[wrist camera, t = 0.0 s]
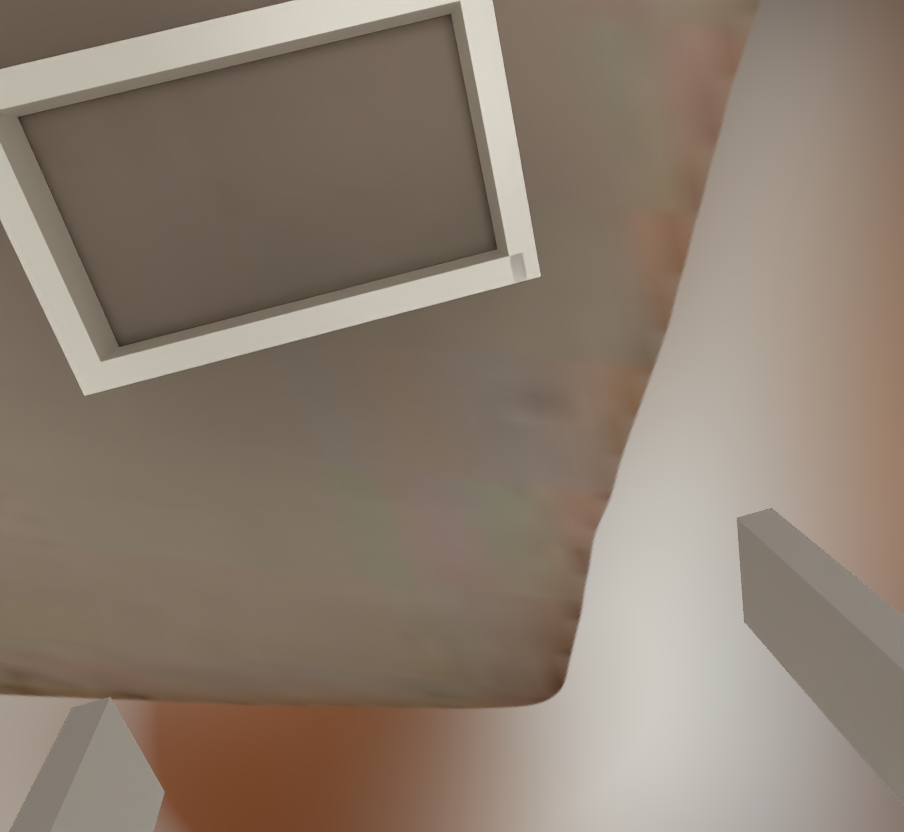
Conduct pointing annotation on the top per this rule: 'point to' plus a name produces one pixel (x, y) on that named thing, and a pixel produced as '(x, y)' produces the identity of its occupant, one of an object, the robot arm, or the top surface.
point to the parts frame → (215, 47)
